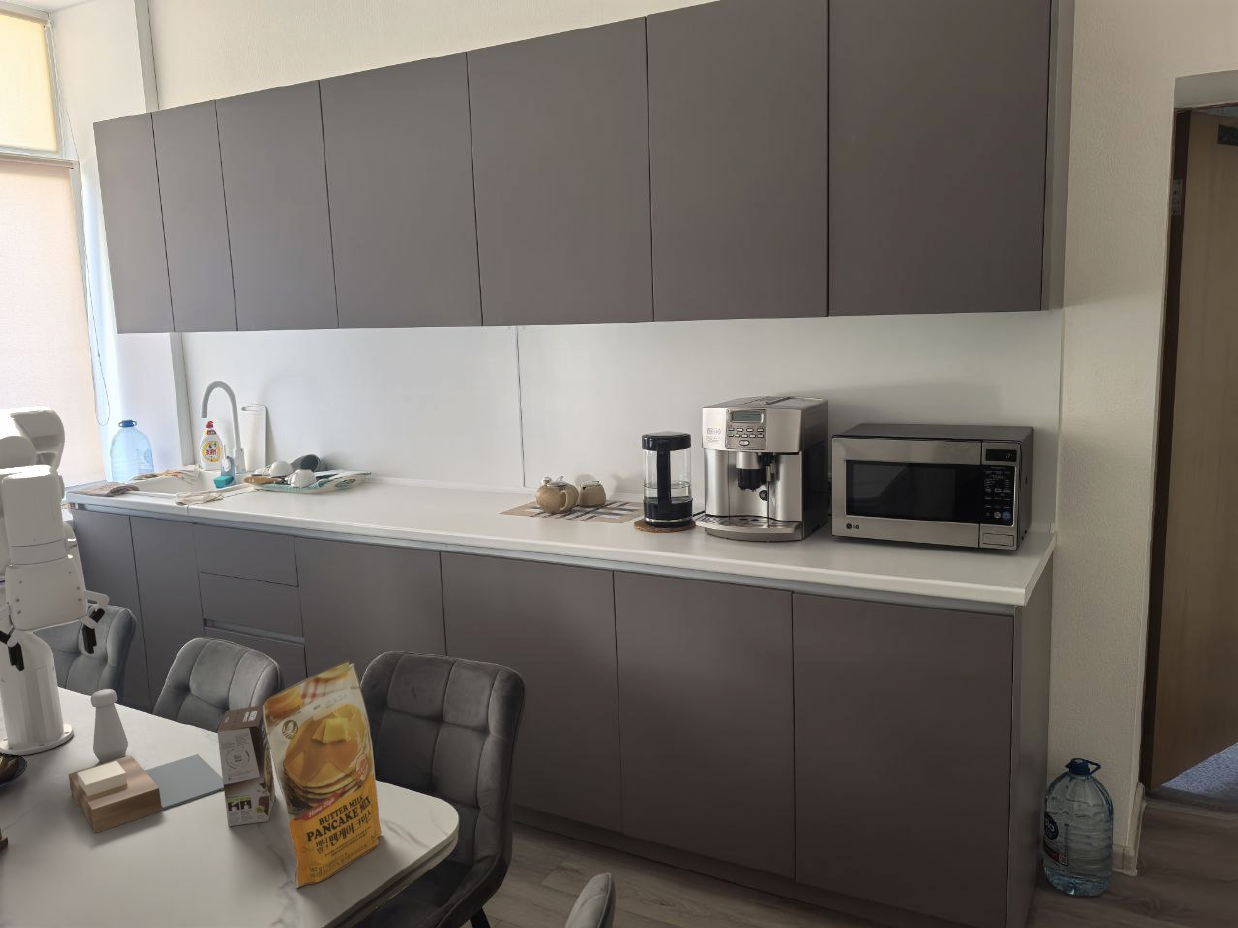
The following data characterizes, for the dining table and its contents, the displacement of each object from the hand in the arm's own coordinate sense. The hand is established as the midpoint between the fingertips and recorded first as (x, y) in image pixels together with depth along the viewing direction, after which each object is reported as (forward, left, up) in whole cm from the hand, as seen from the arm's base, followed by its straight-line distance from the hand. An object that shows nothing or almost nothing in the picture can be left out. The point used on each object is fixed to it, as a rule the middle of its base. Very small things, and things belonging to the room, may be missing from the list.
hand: (55, 660), depth 155 cm
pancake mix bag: (+38, +26, -29) cm, 54 cm away
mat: (-5, +17, -28) cm, 34 cm away
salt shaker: (-25, +11, -29) cm, 39 cm away
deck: (-5, +7, -28) cm, 30 cm away
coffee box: (+14, +23, -29) cm, 39 cm away
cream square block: (-5, +5, -23) cm, 24 cm away
